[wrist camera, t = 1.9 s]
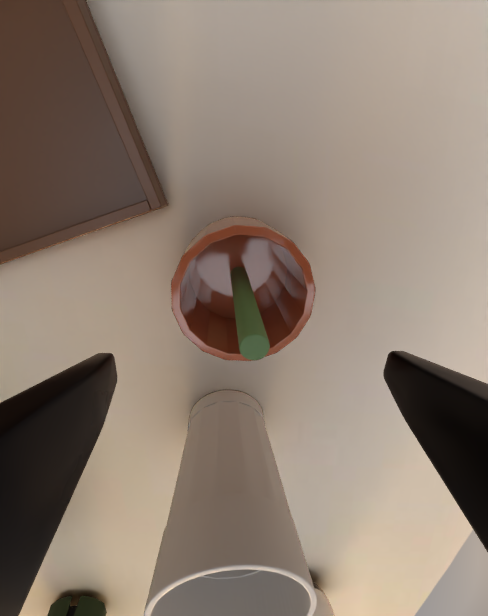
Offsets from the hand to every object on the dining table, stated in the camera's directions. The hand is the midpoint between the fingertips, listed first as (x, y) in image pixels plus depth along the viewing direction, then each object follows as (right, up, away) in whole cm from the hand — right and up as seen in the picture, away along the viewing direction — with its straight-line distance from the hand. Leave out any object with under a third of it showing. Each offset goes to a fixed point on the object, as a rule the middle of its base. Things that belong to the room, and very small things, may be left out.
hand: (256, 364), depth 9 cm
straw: (-1, +4, +10) cm, 10 cm away
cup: (-2, -8, +15) cm, 17 cm away
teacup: (-1, +4, +10) cm, 11 cm away
